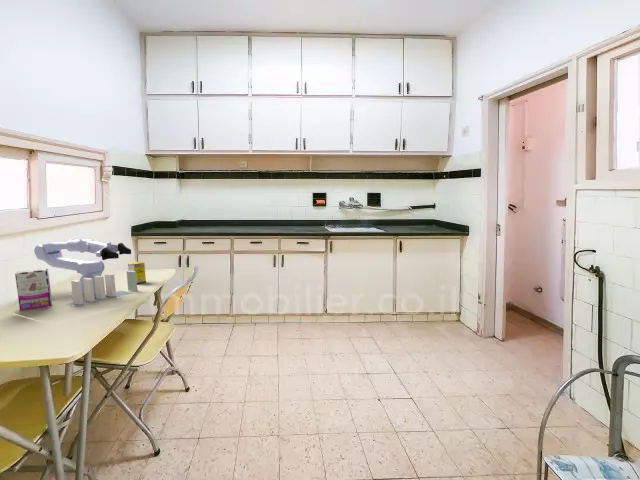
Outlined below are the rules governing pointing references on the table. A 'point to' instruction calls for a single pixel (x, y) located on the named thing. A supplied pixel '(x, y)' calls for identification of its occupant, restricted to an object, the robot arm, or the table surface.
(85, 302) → the slate board
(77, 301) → the ivory domino
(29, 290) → the candy bar box
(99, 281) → the ivory domino
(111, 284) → the ivory domino
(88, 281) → the ivory domino
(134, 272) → the sage domino
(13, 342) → the table surface
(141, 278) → the supplement box
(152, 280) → the table surface
